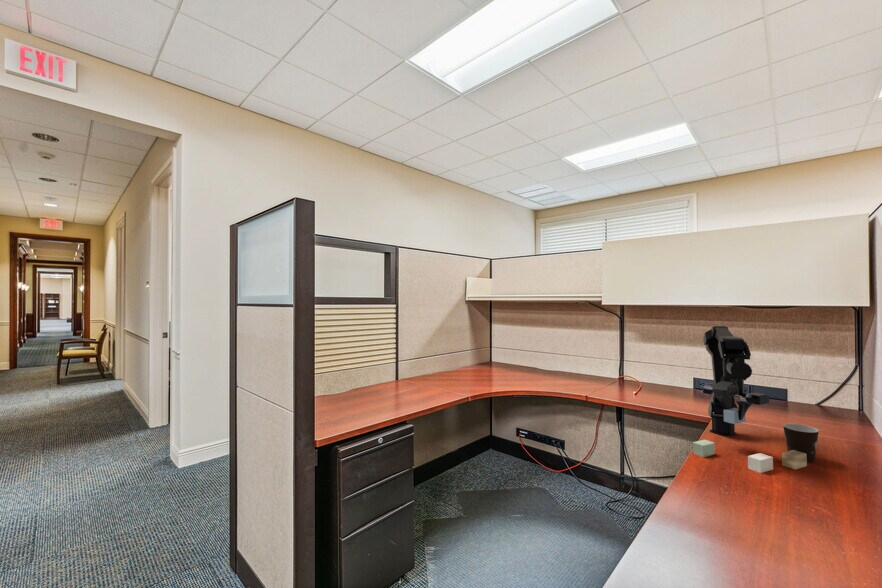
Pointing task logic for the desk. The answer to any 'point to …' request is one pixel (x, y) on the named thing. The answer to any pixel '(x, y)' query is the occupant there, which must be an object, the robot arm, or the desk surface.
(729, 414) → the blue block
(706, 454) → the sage block
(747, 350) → the robot arm
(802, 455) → the maple block
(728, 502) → the desk surface
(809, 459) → the coffee mug
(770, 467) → the cream block
